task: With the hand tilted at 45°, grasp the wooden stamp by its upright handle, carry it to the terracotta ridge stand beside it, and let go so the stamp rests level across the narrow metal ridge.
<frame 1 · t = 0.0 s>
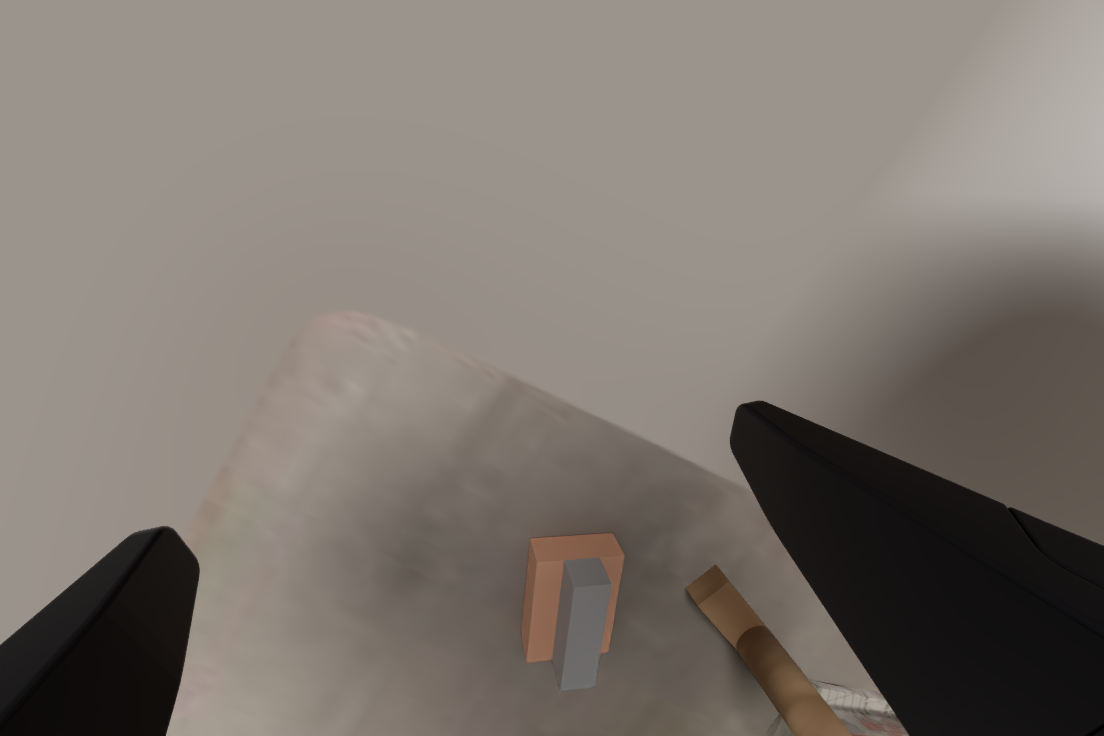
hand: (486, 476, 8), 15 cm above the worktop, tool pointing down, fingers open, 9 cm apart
wooden stamp: (739, 622, 34), on the worktop
packaged product: (840, 727, 42), on the worktop
fulcrum stand: (566, 584, 29), on the worktop
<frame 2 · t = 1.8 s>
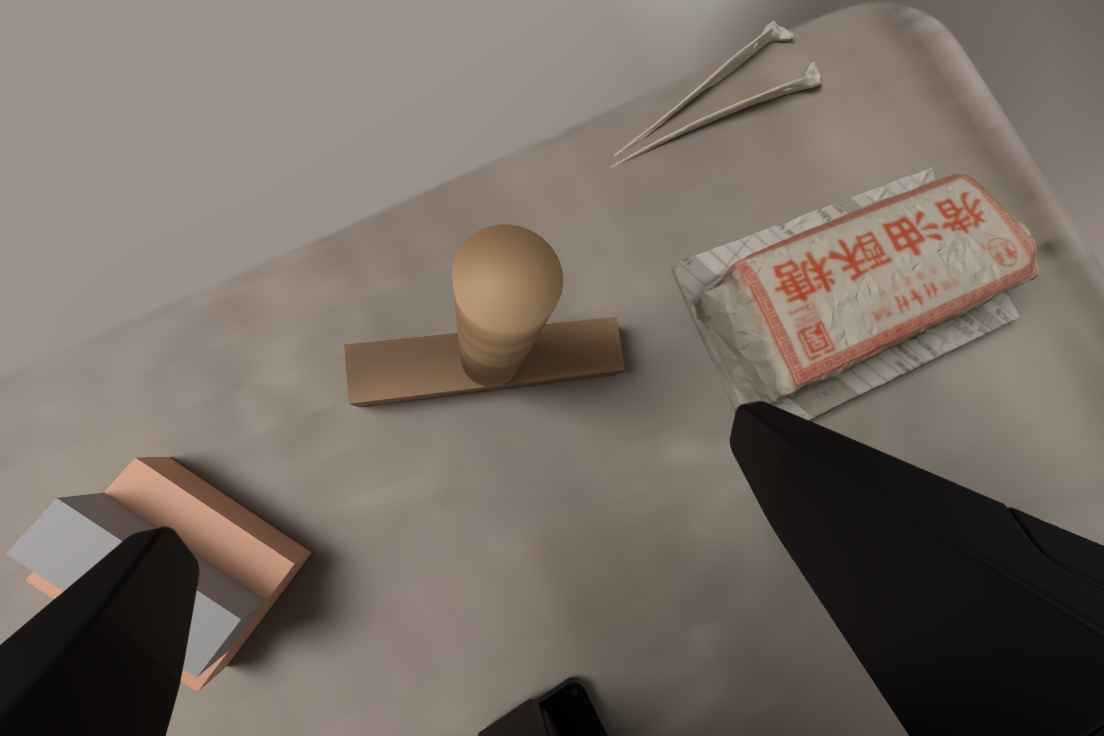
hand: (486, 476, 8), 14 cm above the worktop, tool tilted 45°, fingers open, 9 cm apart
wooden stamp: (489, 364, 22), on the worktop
pair of ivory hairpins: (687, 125, 27), on the worktop
packaged product: (834, 300, 27), on the worktop
fulcrum stand: (196, 559, 19), on the worktop
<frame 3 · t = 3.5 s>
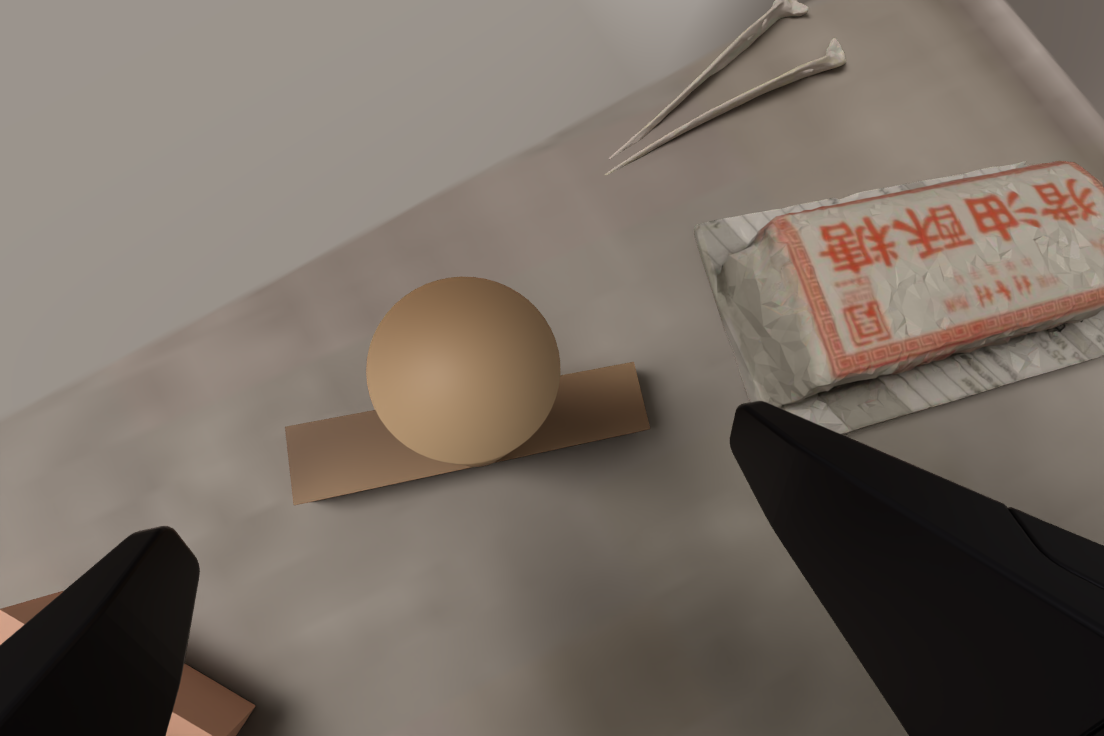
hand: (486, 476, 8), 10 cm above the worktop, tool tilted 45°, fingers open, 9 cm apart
wooden stamp: (477, 431, 18), on the worktop
pair of ivory hairpins: (689, 121, 23), on the worktop
packaged product: (889, 301, 22), on the worktop
fulcrum stand: (100, 729, 14), on the worktop
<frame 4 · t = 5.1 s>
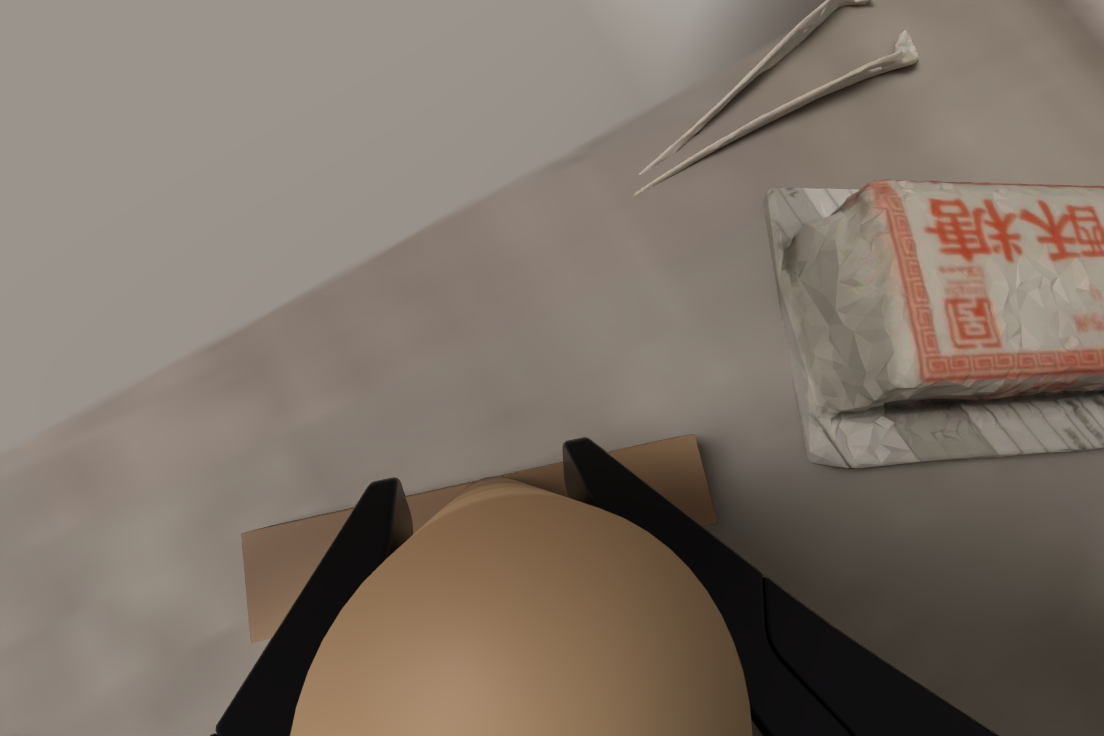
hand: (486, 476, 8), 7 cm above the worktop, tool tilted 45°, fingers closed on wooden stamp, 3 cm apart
wooden stamp: (494, 521, 14), on the worktop, touching gripper
pair of ivory hairpins: (733, 129, 19), on the worktop
packaged product: (981, 325, 19), on the worktop
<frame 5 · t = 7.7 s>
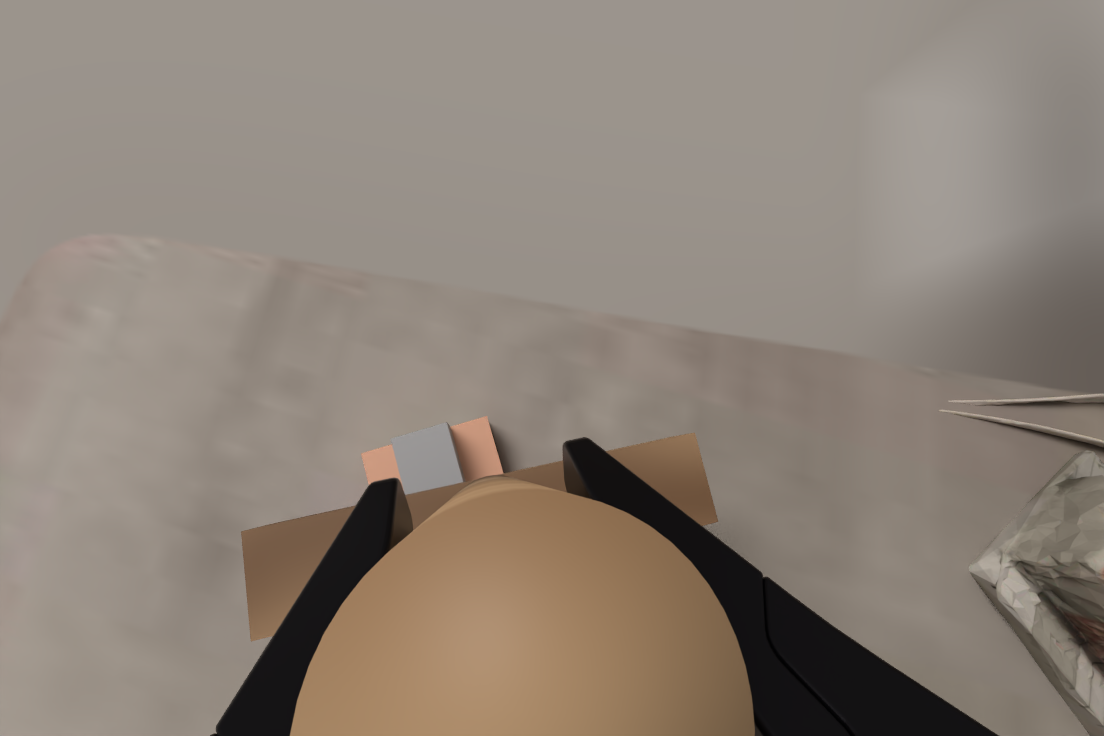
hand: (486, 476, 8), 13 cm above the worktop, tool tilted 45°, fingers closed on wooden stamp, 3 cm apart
wooden stamp: (494, 519, 14), point 7 cm above the worktop, touching gripper
pair of ivory hairpins: (1016, 417, 26), on the worktop
fulcrum stand: (452, 516, 20), on the worktop
when the fingers open (12 cm above the worktop, at t = 10.2 s): wooden stamp drops 1 cm, resting on fulcrum stand.
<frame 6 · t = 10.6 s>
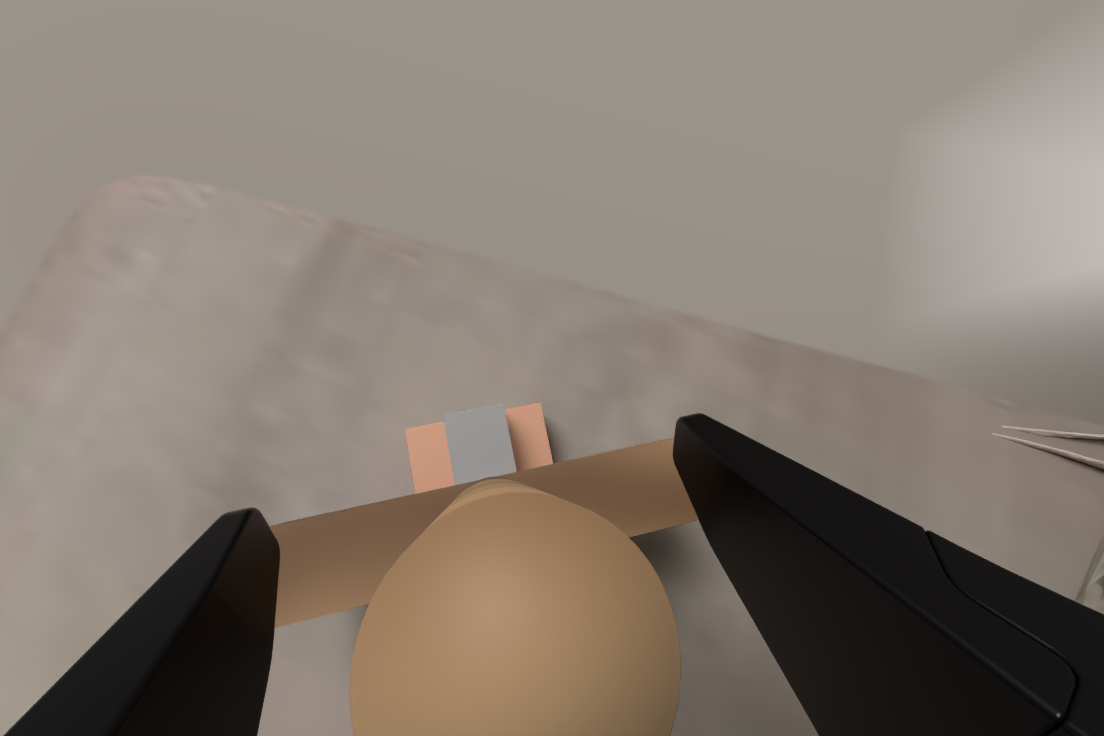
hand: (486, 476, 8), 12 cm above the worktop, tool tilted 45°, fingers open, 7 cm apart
wooden stamp: (494, 518, 15), point 4 cm above the worktop, touching fulcrum stand
pair of ivory hairpins: (1083, 454, 24), on the worktop
fulcrum stand: (491, 507, 19), on the worktop
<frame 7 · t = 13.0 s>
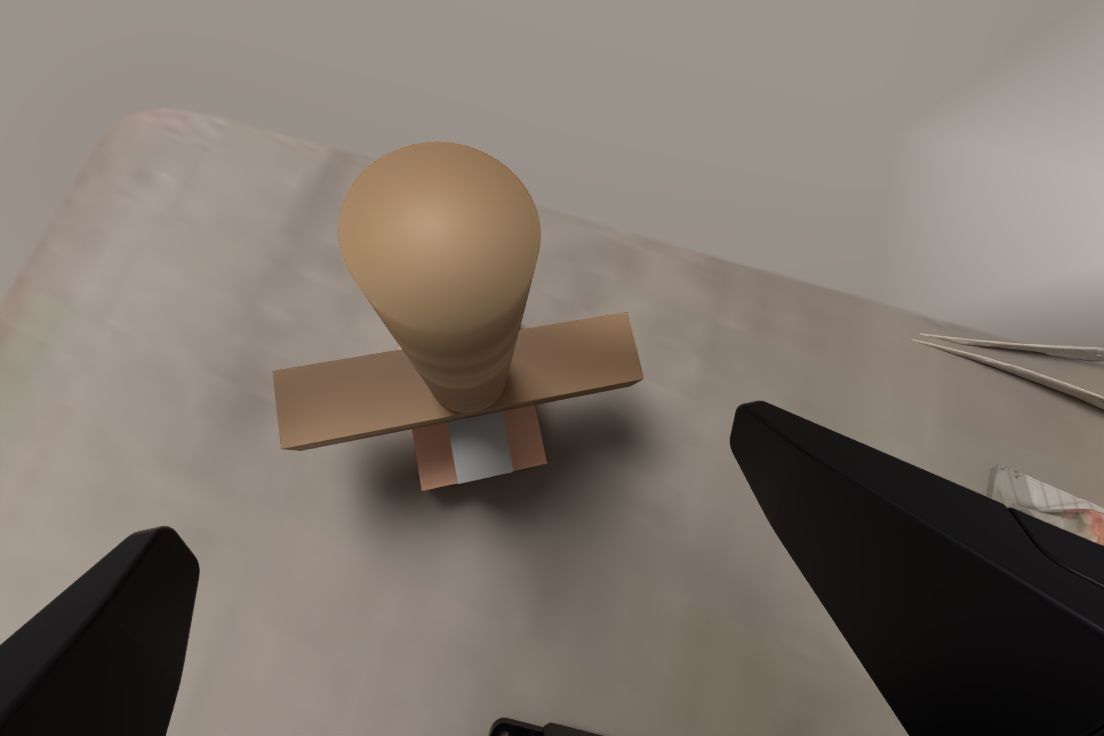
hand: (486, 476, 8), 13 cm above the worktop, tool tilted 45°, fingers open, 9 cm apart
wooden stamp: (469, 383, 17), point 4 cm above the worktop, touching fulcrum stand
pair of ivory hairpins: (1002, 365, 27), on the worktop
fulcrum stand: (471, 398, 21), on the worktop
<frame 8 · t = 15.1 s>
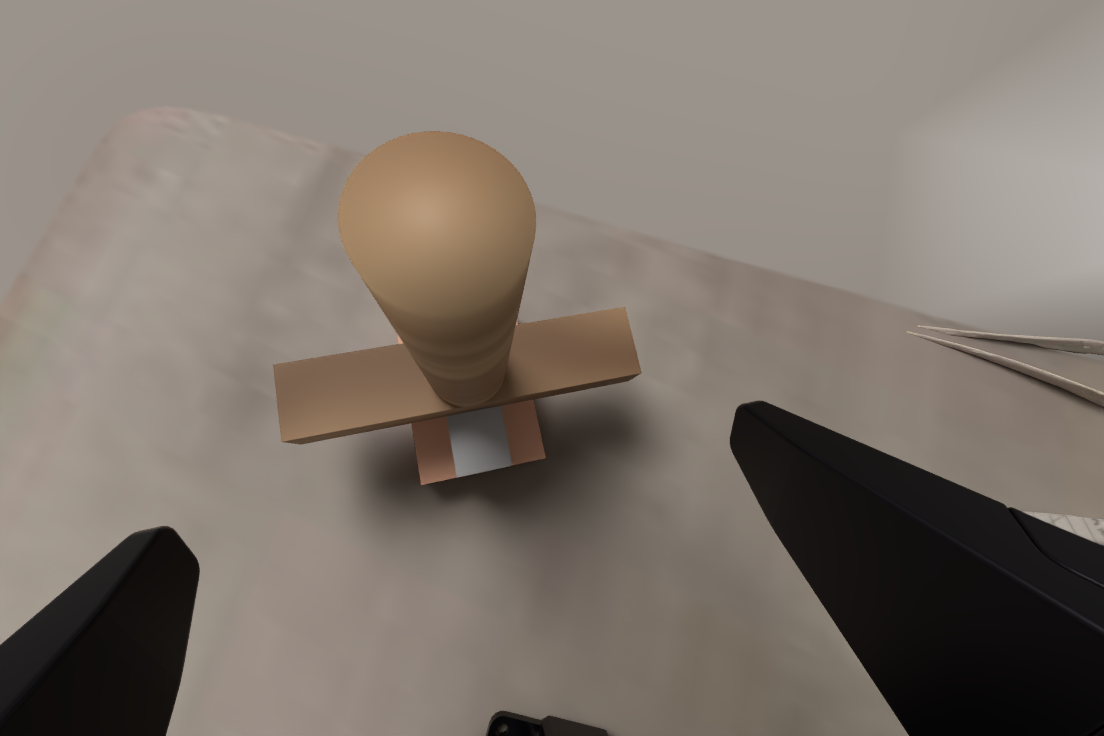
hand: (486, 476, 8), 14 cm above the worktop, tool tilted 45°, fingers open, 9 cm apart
wooden stamp: (468, 377, 18), point 4 cm above the worktop, touching fulcrum stand
pair of ivory hairpins: (990, 356, 27), on the worktop
fulcrum stand: (470, 393, 21), on the worktop
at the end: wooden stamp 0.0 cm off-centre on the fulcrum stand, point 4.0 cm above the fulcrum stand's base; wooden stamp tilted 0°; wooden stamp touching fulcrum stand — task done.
